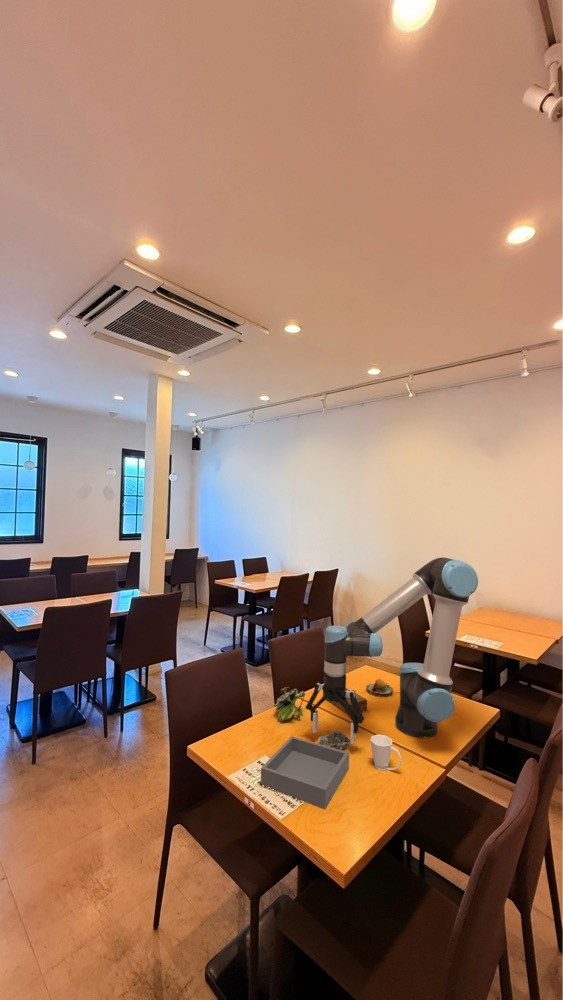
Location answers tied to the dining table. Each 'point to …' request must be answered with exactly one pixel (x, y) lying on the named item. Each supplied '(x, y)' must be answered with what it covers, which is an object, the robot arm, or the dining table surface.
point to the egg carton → (335, 740)
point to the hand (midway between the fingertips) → (333, 736)
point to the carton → (360, 700)
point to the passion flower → (288, 704)
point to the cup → (382, 752)
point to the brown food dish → (380, 689)
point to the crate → (306, 771)
